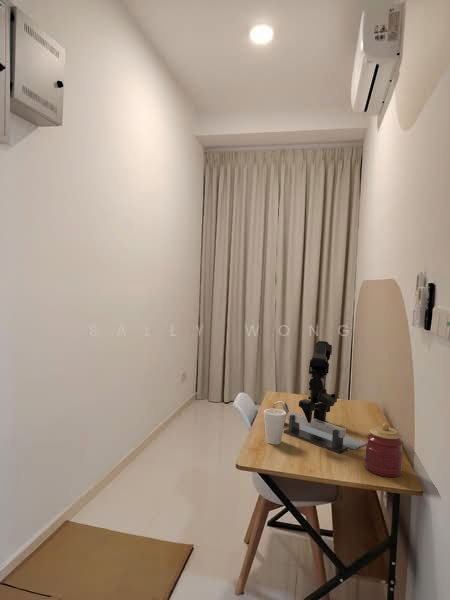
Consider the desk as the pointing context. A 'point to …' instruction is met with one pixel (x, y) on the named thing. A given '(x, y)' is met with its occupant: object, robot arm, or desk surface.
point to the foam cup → (274, 425)
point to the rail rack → (316, 438)
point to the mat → (347, 441)
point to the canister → (384, 451)
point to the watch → (283, 406)
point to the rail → (318, 424)
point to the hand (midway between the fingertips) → (315, 421)
